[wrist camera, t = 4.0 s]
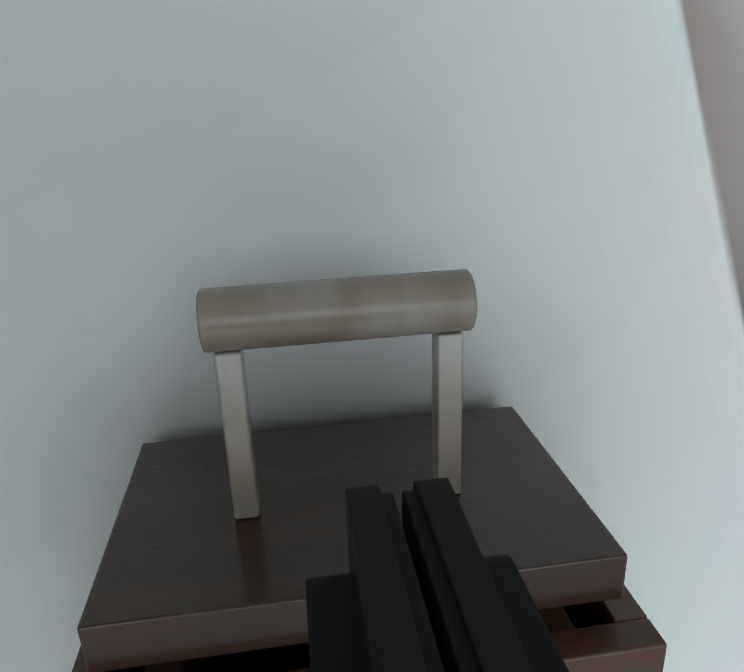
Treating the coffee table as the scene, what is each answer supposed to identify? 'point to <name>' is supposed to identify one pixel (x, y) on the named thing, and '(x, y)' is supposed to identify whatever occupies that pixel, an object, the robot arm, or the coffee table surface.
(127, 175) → the coffee table surface
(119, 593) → the drawer
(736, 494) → the coffee table surface
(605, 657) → the cabinet
